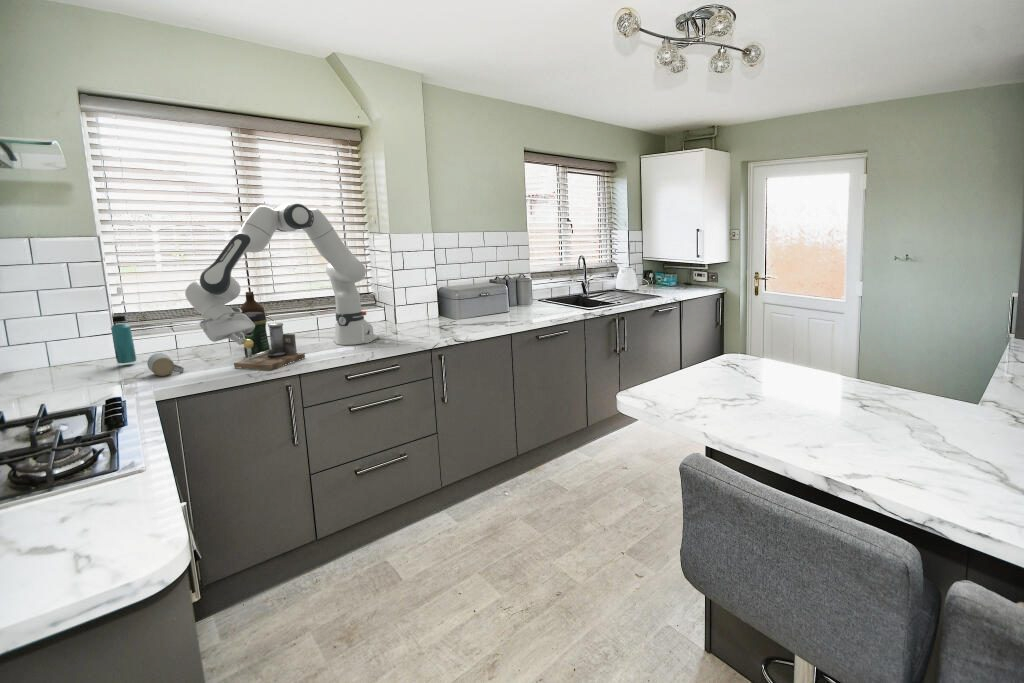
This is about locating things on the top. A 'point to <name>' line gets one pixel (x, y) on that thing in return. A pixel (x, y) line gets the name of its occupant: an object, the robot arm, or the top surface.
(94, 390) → the top surface
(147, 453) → the top surface
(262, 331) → the coffee jar
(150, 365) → the ceramic mug
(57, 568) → the top surface
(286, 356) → the stand
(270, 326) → the capstan
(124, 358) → the beverage bottle
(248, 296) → the olive oil
